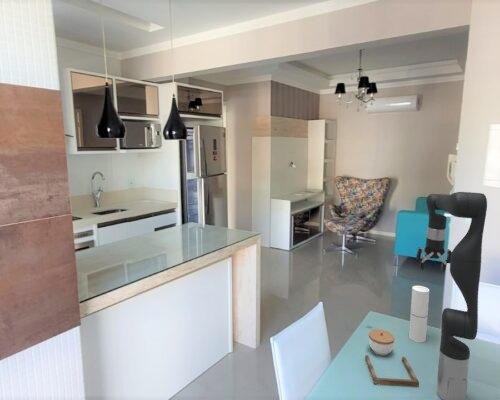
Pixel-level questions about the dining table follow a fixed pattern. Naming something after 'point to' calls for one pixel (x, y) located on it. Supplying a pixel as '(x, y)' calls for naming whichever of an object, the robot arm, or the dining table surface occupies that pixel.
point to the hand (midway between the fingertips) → (432, 270)
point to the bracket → (396, 382)
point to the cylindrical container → (419, 313)
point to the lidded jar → (381, 341)
